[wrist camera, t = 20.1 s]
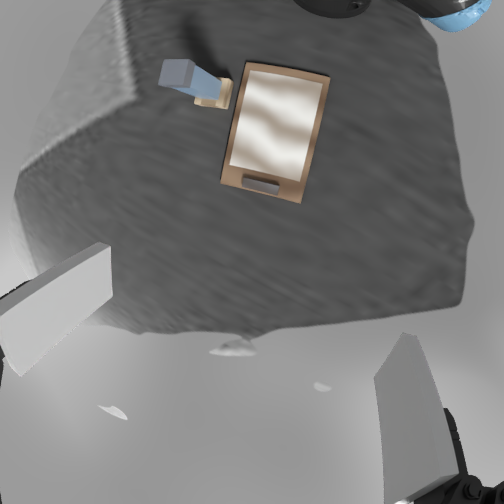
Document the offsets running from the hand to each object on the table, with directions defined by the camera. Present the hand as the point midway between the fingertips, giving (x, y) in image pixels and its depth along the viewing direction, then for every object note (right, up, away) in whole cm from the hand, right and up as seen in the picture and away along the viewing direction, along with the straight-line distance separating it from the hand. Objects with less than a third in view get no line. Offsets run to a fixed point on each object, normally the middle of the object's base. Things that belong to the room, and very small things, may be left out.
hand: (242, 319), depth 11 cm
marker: (-6, +29, +29) cm, 41 cm away
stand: (-6, +30, +30) cm, 43 cm away
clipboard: (+4, +23, +31) cm, 38 cm away
